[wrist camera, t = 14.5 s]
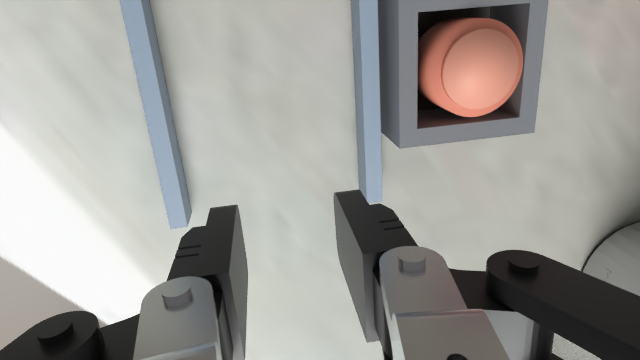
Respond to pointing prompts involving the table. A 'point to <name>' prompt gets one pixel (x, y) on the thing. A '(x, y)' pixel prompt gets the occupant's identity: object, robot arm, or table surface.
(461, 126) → the button housing
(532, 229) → the table surface
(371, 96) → the track
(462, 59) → the button
